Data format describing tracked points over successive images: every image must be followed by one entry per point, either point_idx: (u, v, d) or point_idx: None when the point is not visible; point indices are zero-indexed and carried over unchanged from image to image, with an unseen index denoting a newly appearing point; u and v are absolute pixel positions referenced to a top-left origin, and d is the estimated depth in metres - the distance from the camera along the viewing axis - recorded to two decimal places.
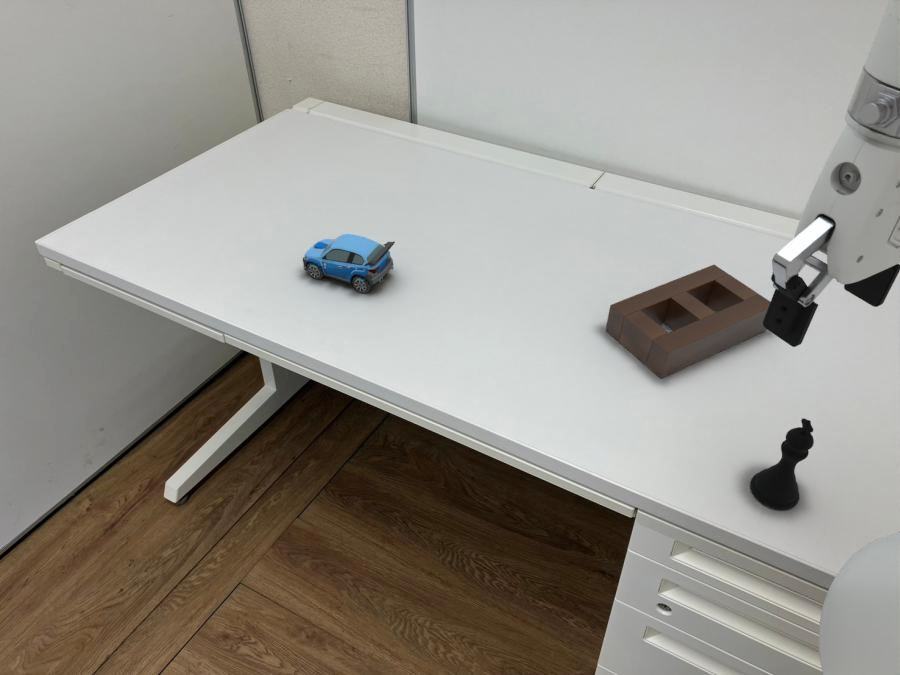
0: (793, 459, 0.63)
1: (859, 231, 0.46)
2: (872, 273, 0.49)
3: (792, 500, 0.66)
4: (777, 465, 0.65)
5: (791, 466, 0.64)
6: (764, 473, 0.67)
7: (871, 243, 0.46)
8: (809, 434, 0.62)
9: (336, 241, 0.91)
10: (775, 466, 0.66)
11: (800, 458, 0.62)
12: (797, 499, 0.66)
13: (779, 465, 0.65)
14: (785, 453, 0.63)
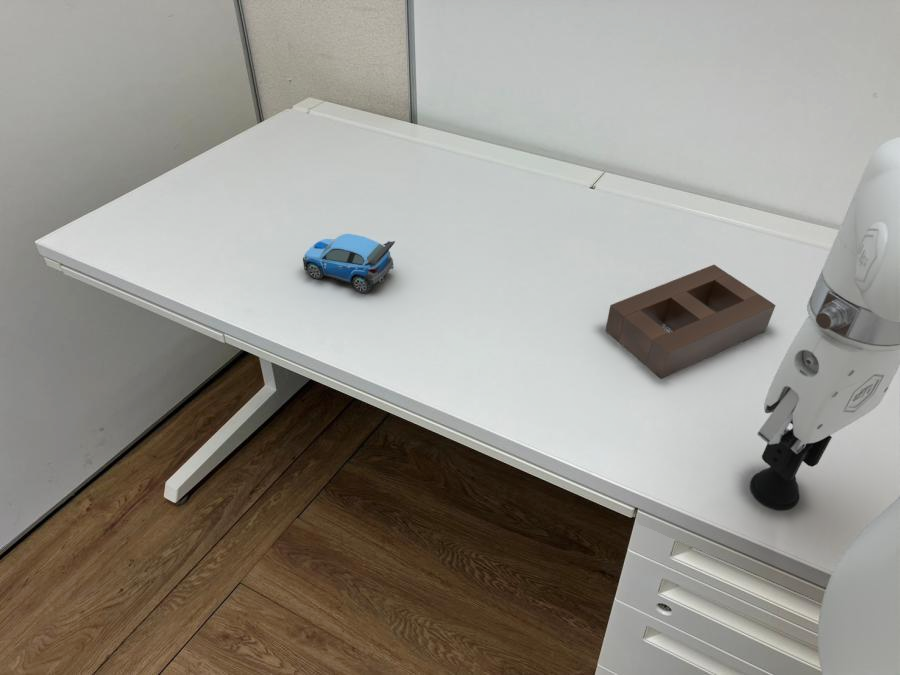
0: None
1: (818, 407, 0.54)
2: (832, 432, 0.57)
3: (792, 500, 0.66)
4: None
5: None
6: (764, 473, 0.67)
7: (829, 414, 0.54)
8: None
9: (336, 241, 0.91)
10: None
11: None
12: (797, 499, 0.66)
13: None
14: None
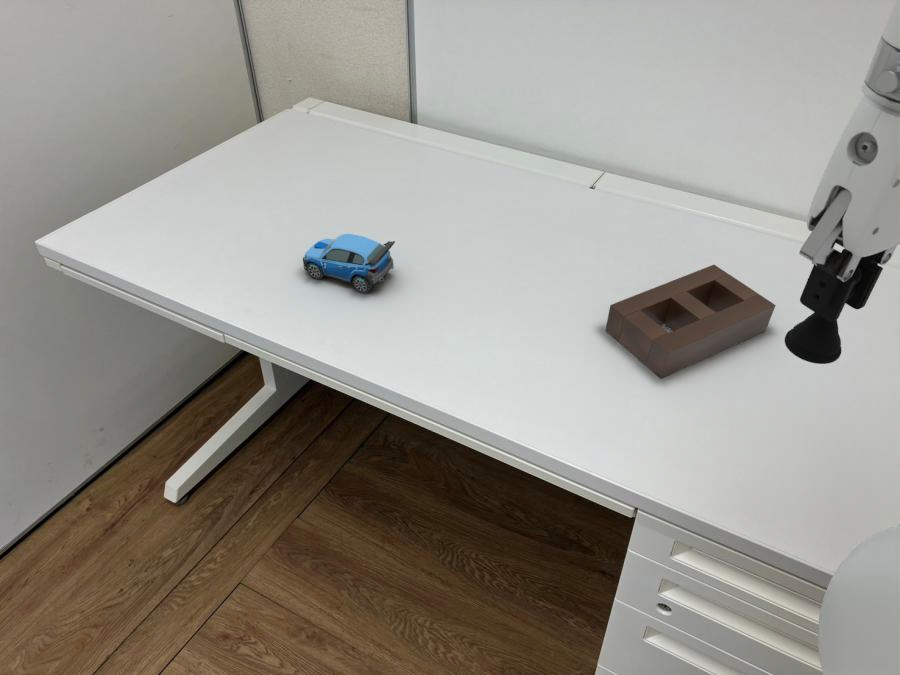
0: None
1: (875, 202, 0.45)
2: (888, 246, 0.49)
3: (834, 352, 0.57)
4: None
5: None
6: (801, 323, 0.58)
7: (887, 214, 0.46)
8: None
9: (336, 241, 0.91)
10: (814, 313, 0.57)
11: None
12: (839, 352, 0.58)
13: None
14: None
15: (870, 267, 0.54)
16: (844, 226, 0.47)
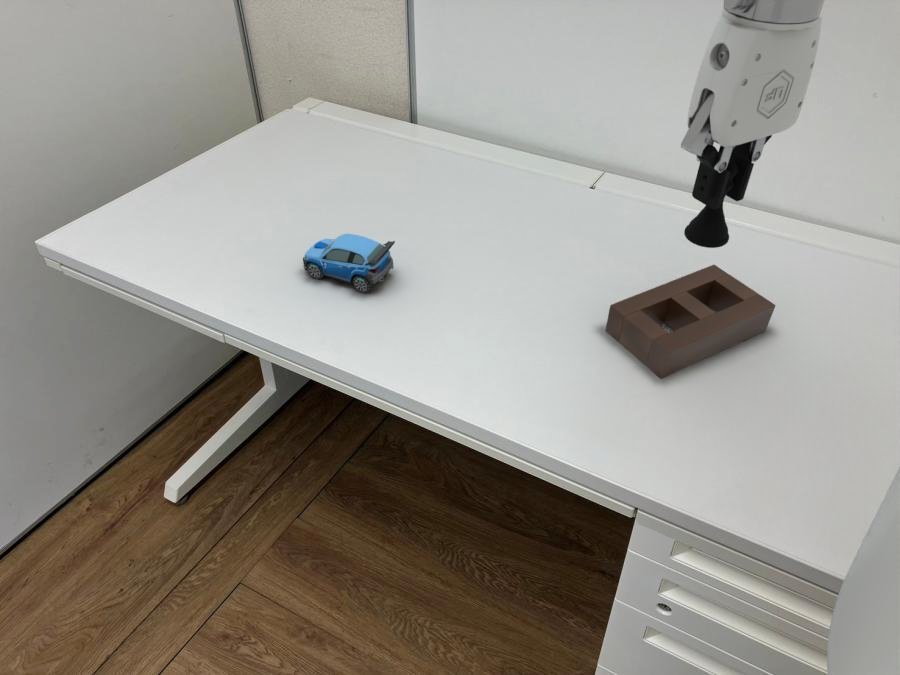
0: None
1: (730, 98, 0.58)
2: (748, 139, 0.62)
3: (721, 237, 0.70)
4: None
5: None
6: (696, 216, 0.71)
7: (742, 109, 0.59)
8: (733, 162, 0.66)
9: (336, 241, 0.91)
10: (705, 206, 0.70)
11: None
12: (726, 239, 0.71)
13: None
14: None
15: (744, 163, 0.67)
16: (711, 121, 0.60)
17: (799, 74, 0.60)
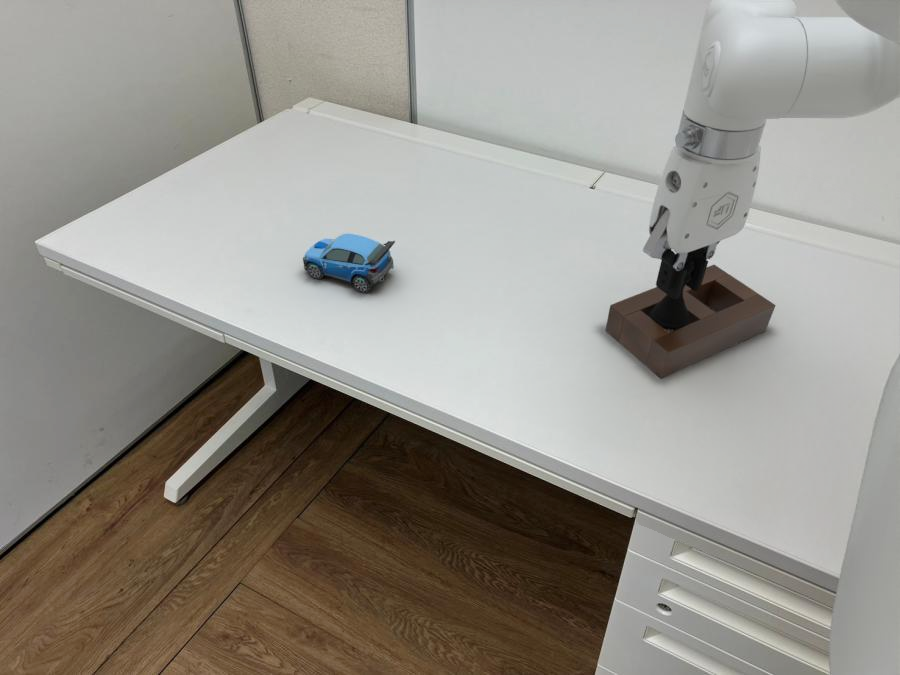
0: None
1: (683, 217, 0.68)
2: (700, 246, 0.72)
3: (682, 321, 0.80)
4: None
5: None
6: (660, 301, 0.81)
7: (693, 225, 0.69)
8: (690, 259, 0.76)
9: (336, 241, 0.91)
10: None
11: None
12: (687, 321, 0.81)
13: None
14: None
15: (700, 260, 0.76)
16: (667, 232, 0.70)
17: (743, 193, 0.70)
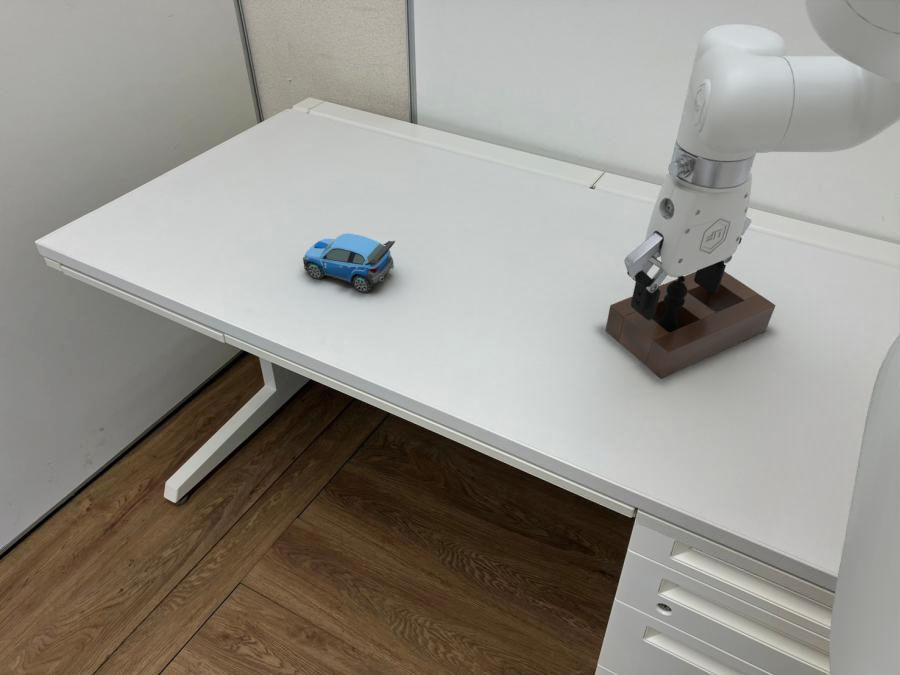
0: (672, 307, 0.80)
1: (676, 242, 0.70)
2: (693, 270, 0.74)
3: None
4: (663, 315, 0.82)
5: (672, 314, 0.81)
6: None
7: (686, 250, 0.71)
8: (683, 285, 0.79)
9: (336, 241, 0.91)
10: (662, 317, 0.82)
11: (677, 304, 0.79)
12: None
13: (664, 315, 0.82)
14: (666, 302, 0.80)
15: (717, 265, 0.79)
16: (661, 257, 0.72)
17: (735, 218, 0.72)
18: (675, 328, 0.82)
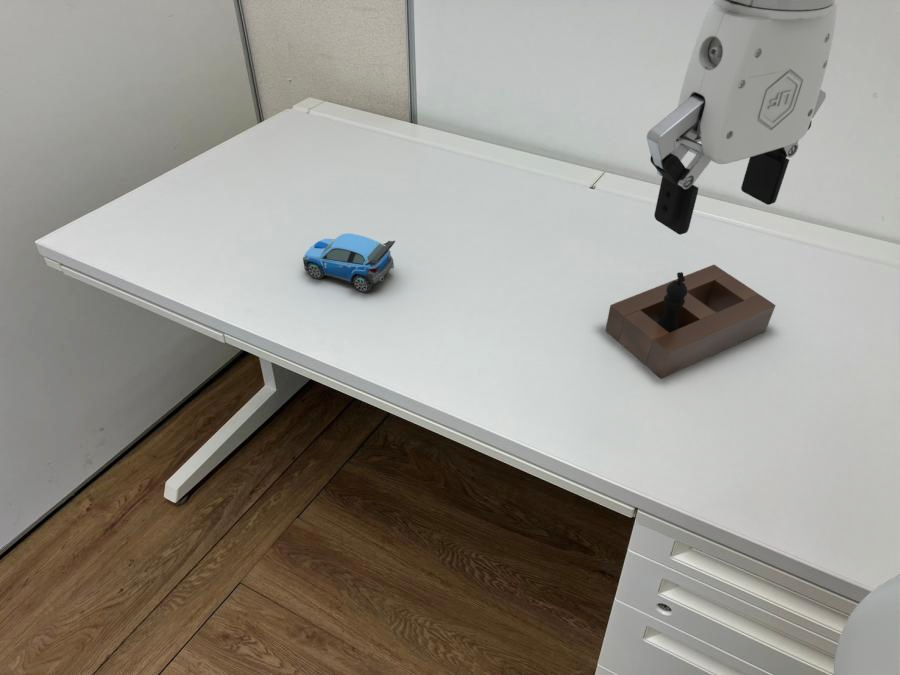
0: (672, 306, 0.80)
1: (725, 104, 0.47)
2: (747, 154, 0.51)
3: None
4: (663, 315, 0.82)
5: (672, 314, 0.81)
6: None
7: (739, 118, 0.48)
8: (683, 285, 0.79)
9: (336, 241, 0.91)
10: (662, 317, 0.82)
11: (677, 304, 0.79)
12: None
13: (664, 315, 0.82)
14: (666, 302, 0.80)
15: (777, 159, 0.56)
16: (701, 132, 0.49)
17: (809, 75, 0.49)
18: (675, 328, 0.82)
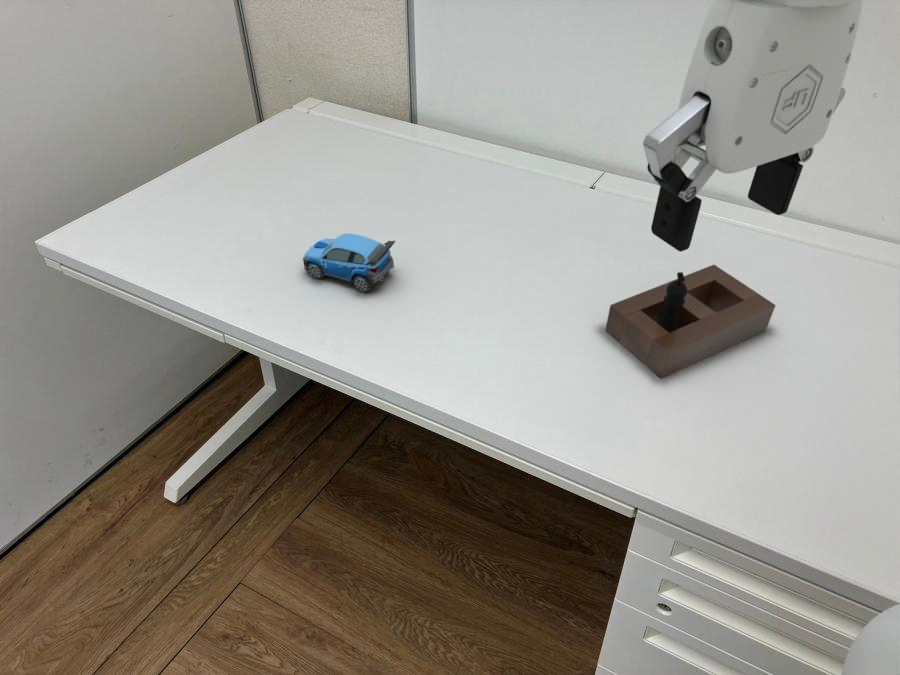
0: (672, 306, 0.80)
1: (734, 106, 0.41)
2: (758, 162, 0.44)
3: None
4: (663, 315, 0.82)
5: (672, 314, 0.81)
6: None
7: (750, 121, 0.42)
8: (683, 285, 0.79)
9: (336, 240, 0.91)
10: (662, 317, 0.82)
11: (677, 304, 0.79)
12: None
13: (664, 315, 0.82)
14: (666, 302, 0.80)
15: (790, 165, 0.49)
16: (706, 137, 0.43)
17: (830, 71, 0.43)
18: (675, 328, 0.82)
